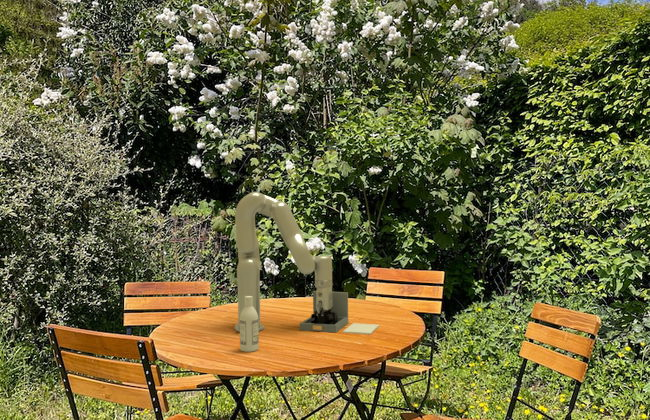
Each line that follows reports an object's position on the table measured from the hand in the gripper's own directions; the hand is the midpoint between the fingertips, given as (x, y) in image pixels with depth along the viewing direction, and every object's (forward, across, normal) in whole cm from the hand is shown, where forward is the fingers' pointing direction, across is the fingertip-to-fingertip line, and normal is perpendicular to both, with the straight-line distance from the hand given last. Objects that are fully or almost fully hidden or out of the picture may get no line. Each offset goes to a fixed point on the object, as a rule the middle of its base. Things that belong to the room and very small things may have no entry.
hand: (324, 322), depth 240 cm
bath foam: (+2, -43, +15) cm, 46 cm away
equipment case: (+2, 0, 0) cm, 2 cm away
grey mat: (+2, 0, -17) cm, 17 cm away
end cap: (+2, 0, 0) cm, 2 cm away
